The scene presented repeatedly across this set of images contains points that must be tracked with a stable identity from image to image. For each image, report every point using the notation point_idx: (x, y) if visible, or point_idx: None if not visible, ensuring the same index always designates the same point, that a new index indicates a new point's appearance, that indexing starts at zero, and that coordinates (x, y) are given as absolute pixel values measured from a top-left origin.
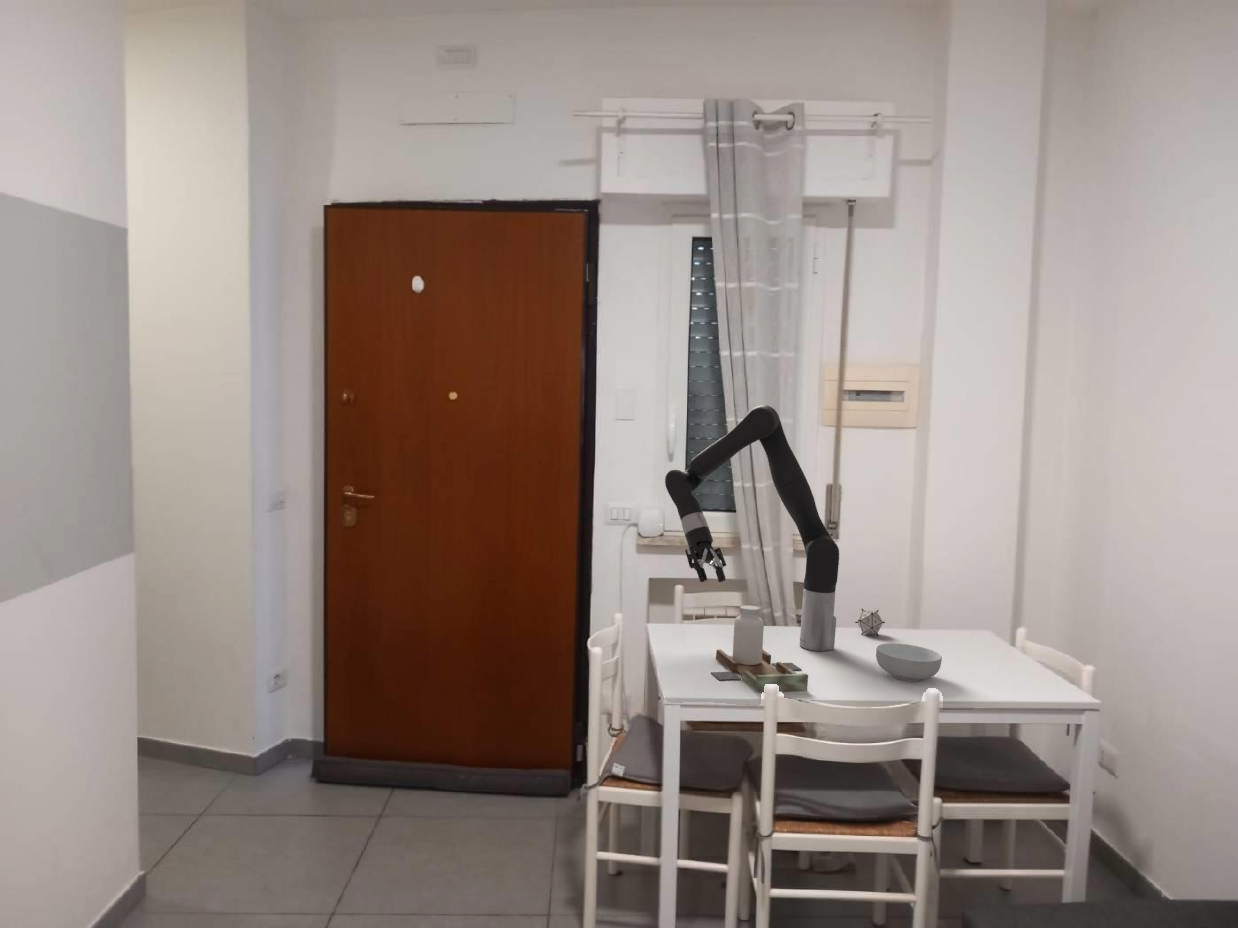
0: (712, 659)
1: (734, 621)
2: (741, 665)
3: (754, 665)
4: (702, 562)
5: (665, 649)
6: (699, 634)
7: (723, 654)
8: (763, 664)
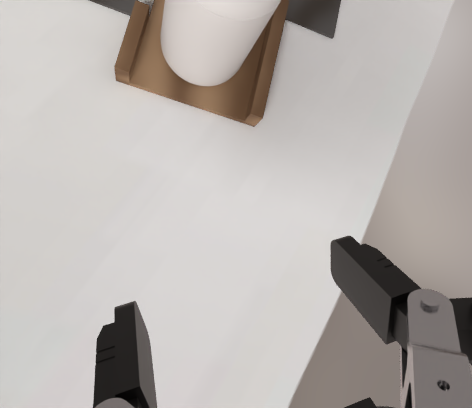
0: (268, 123)
1: (278, 4)
2: None
3: None
4: (427, 337)
5: None
6: None
7: (271, 72)
8: None
